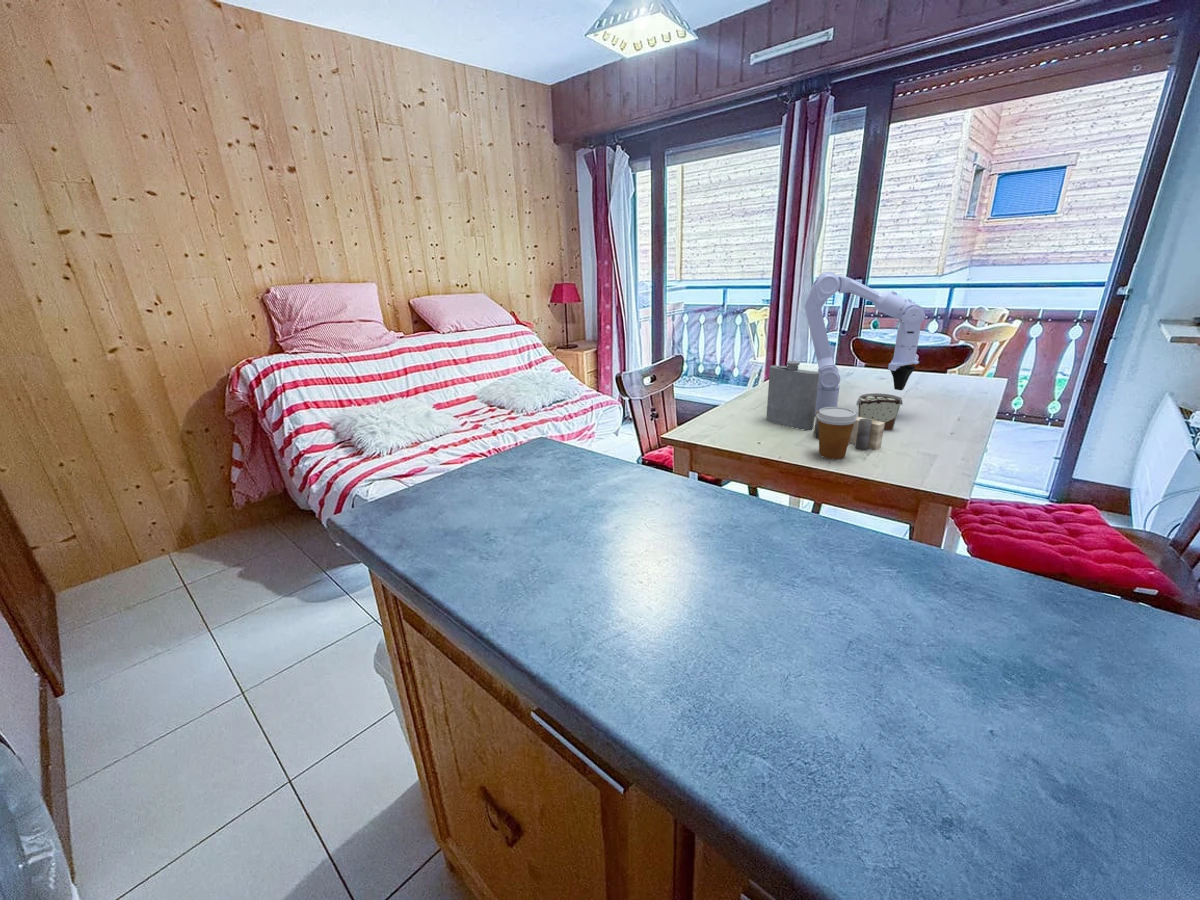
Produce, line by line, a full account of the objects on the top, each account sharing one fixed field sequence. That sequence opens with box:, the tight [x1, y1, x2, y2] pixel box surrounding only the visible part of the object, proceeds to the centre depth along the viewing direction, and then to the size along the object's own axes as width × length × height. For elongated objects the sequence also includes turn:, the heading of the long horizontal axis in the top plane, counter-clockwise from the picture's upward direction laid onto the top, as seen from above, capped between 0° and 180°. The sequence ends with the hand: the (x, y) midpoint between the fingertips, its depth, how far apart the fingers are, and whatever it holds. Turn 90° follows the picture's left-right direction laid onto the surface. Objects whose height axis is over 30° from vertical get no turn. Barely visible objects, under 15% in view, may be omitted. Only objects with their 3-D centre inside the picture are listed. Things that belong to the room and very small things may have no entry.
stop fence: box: [813, 410, 885, 451], centre depth 140 cm, size 18×6×8 cm, turn 37°
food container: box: [855, 392, 903, 432], centre depth 148 cm, size 12×6×10 cm, turn 84°
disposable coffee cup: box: [817, 406, 858, 460], centre depth 131 cm, size 10×10×12 cm
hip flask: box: [765, 360, 819, 431], centre depth 153 cm, size 16×4×20 cm, turn 38°
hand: (898, 389), depth 154 cm, fingers closed
